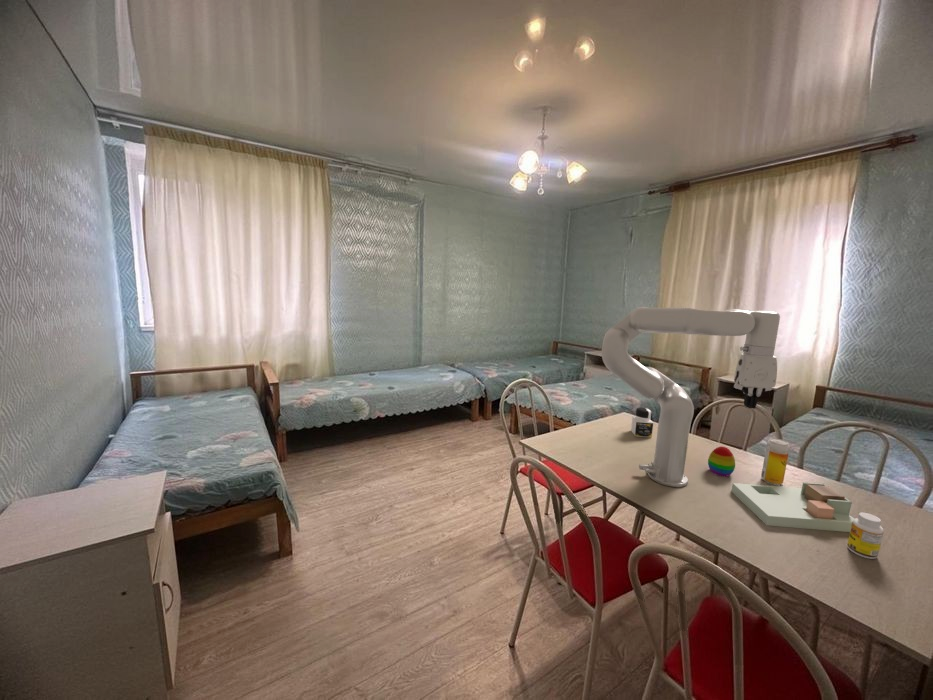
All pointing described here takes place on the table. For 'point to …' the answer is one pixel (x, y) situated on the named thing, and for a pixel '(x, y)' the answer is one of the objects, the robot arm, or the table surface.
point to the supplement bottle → (865, 536)
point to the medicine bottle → (642, 423)
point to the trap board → (791, 507)
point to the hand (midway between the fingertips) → (749, 407)
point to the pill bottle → (775, 461)
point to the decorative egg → (721, 461)
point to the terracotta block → (819, 509)
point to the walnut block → (822, 493)
